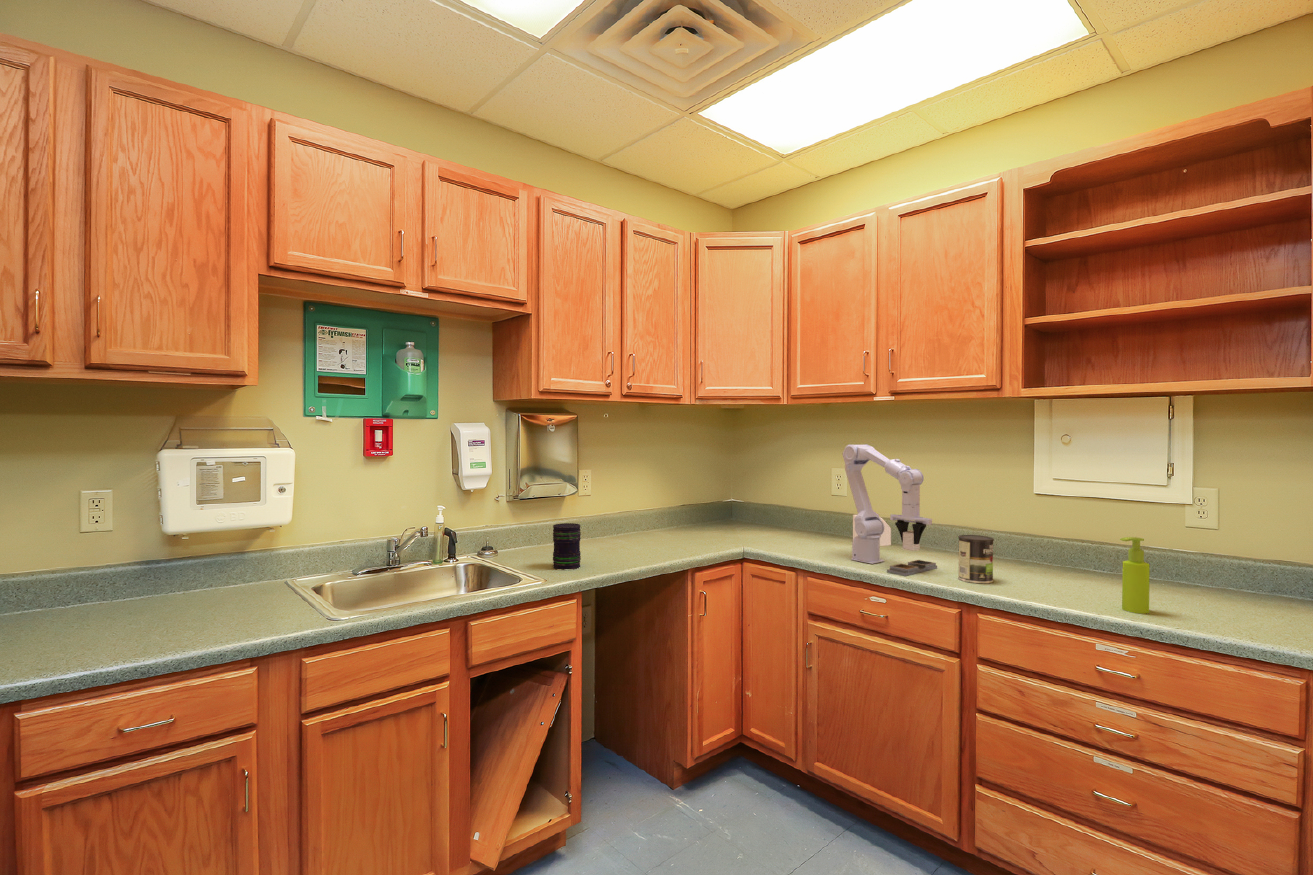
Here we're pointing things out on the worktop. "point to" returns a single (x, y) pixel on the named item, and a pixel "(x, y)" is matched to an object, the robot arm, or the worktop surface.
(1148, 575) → the soap dispenser
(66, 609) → the worktop surface
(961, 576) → the coffee can
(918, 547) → the block
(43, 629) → the worktop surface
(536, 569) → the worktop surface
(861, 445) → the robot arm
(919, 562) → the rail
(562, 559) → the storage jar
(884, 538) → the corner bracket
